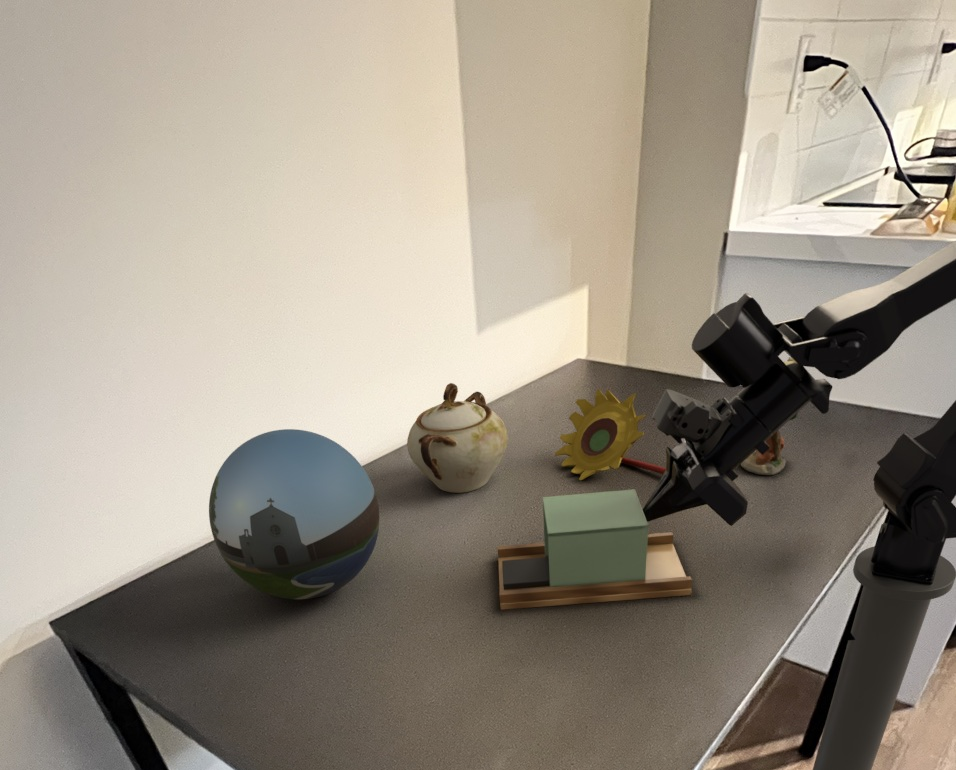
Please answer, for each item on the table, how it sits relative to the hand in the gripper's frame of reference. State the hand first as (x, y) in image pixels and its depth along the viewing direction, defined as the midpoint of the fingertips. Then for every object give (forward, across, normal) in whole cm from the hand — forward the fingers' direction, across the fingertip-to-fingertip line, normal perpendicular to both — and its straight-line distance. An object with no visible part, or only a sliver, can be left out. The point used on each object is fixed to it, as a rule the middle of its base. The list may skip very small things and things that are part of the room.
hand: (643, 518), depth 86 cm
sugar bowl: (+21, -30, -10) cm, 38 cm away
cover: (+9, 0, 0) cm, 9 cm away
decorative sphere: (+34, -3, -23) cm, 41 cm away
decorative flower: (+2, -26, +8) cm, 28 cm away
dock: (+10, 0, +1) cm, 10 cm away
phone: (+13, 0, -4) cm, 14 cm away
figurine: (-10, -25, +21) cm, 34 cm away
